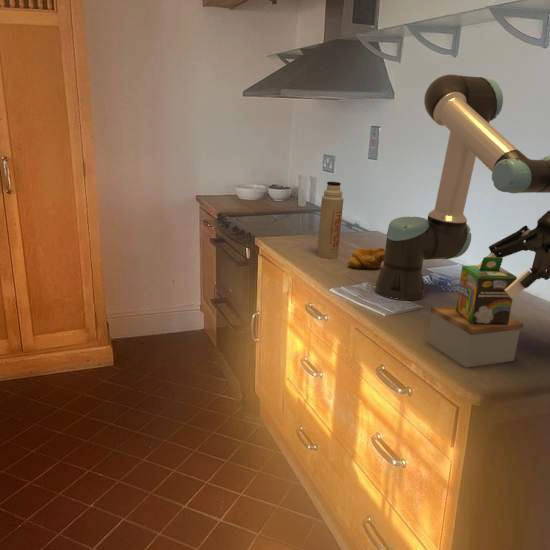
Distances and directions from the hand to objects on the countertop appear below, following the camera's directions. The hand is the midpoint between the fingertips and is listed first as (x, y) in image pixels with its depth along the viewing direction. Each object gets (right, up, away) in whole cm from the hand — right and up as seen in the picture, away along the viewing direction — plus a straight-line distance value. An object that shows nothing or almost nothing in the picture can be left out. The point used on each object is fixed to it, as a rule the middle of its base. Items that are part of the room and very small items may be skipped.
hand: (490, 284), depth 125 cm
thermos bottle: (-29, +9, +85) cm, 90 cm away
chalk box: (-1, -8, +3) cm, 8 cm away
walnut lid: (-2, -8, +5) cm, 10 cm away
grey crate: (-2, -16, +7) cm, 18 cm away
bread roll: (-17, +5, +73) cm, 75 cm away
